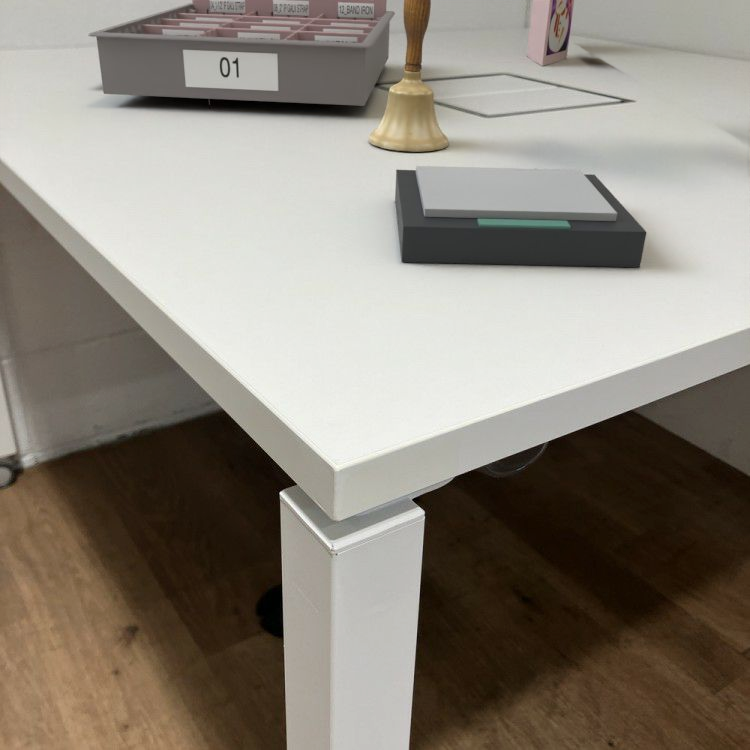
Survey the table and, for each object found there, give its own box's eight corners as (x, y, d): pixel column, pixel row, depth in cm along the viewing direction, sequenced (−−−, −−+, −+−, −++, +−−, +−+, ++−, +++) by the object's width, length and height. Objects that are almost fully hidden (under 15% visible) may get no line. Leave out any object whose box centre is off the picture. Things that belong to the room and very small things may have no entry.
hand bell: (428, 131, 89) (437, -32, 81) (462, 149, 82) (476, -27, 74) (356, 136, 86) (359, -33, 78) (386, 155, 79) (392, -28, 72)
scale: (589, 204, 67) (596, 166, 65) (640, 267, 55) (648, 223, 53) (395, 199, 67) (396, 161, 65) (401, 262, 54) (403, 217, 53)
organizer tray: (96, 107, 95) (84, 14, 90) (192, 58, 130) (187, -11, 125) (369, 120, 93) (372, 26, 89) (393, 66, 128) (395, -3, 123)
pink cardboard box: (547, 66, 133) (559, -37, 126) (505, 62, 136) (515, -39, 129) (571, 59, 142) (584, -38, 134) (531, 54, 145) (541, -40, 138)
